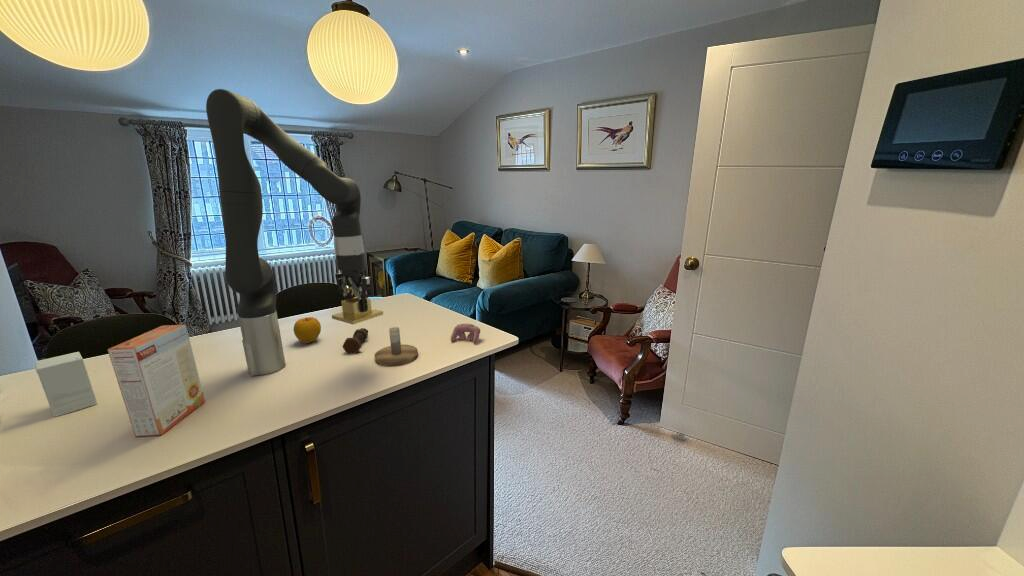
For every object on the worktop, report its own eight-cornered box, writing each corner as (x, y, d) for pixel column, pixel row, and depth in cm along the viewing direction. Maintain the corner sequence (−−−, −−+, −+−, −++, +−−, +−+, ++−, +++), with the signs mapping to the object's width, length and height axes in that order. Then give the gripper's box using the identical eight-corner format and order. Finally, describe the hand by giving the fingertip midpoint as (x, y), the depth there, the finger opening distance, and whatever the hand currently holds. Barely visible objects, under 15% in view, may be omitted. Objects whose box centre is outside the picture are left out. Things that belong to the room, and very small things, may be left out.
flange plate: (353, 324, 104) (350, 307, 103) (332, 318, 110) (329, 301, 109) (383, 314, 112) (381, 298, 111) (362, 309, 118) (360, 293, 117)
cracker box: (181, 403, 96) (161, 324, 91) (206, 402, 96) (188, 323, 91) (131, 438, 82) (105, 347, 77) (161, 436, 83) (136, 346, 78)
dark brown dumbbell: (367, 341, 139) (354, 357, 125) (353, 335, 138) (340, 350, 124) (373, 327, 139) (362, 342, 124) (360, 321, 138) (347, 335, 123)
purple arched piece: (480, 345, 134) (482, 325, 135) (475, 344, 129) (478, 323, 131) (454, 342, 136) (456, 323, 138) (448, 341, 132) (451, 321, 133)
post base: (417, 363, 116) (414, 334, 114) (372, 368, 114) (369, 338, 111) (418, 347, 129) (416, 320, 126) (378, 350, 126) (375, 323, 124)
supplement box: (94, 395, 100) (80, 350, 97) (97, 404, 96) (83, 358, 93) (51, 407, 95) (35, 360, 92) (52, 418, 90) (35, 369, 87)
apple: (312, 347, 130) (308, 322, 127) (289, 346, 131) (285, 321, 129) (327, 338, 138) (324, 314, 135) (306, 336, 139) (302, 313, 137)
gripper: (322, 252, 107) (330, 309, 112) (353, 256, 100) (361, 317, 104) (346, 248, 113) (353, 303, 118) (377, 251, 106) (384, 310, 110)
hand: (357, 309), depth 111 cm, fingers closed on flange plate, 5 cm apart
